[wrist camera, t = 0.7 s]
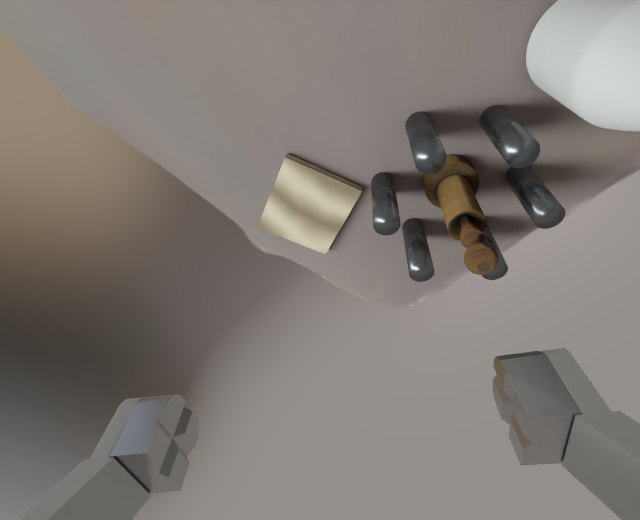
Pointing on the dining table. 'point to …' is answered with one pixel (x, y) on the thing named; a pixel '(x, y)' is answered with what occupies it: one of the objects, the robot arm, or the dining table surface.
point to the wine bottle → (590, 60)
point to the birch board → (308, 204)
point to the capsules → (432, 157)
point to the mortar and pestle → (462, 211)
